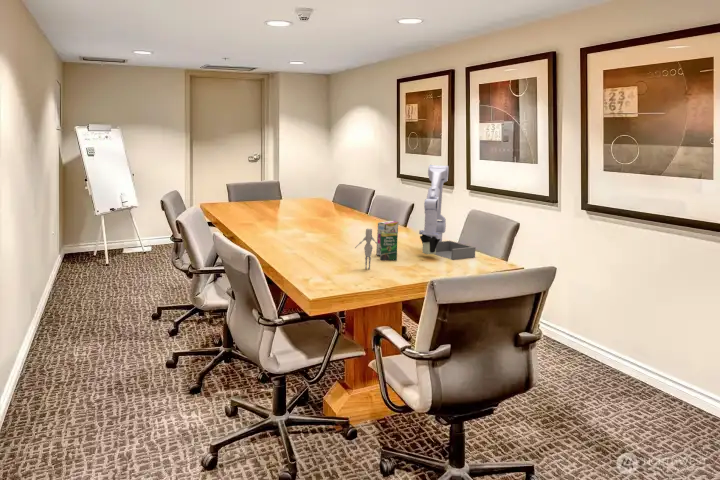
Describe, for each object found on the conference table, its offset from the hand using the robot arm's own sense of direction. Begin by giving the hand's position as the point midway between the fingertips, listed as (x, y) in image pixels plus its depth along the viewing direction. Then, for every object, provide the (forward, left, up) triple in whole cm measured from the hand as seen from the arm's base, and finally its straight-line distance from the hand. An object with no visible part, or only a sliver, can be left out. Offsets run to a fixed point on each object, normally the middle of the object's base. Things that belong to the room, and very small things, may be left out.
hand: (429, 251), depth 270 cm
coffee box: (-6, -20, -4) cm, 21 cm away
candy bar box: (-16, -14, -4) cm, 21 cm away
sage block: (0, 0, -1) cm, 1 cm away
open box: (0, +14, -3) cm, 14 cm away
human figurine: (+6, -39, -4) cm, 40 cm away
